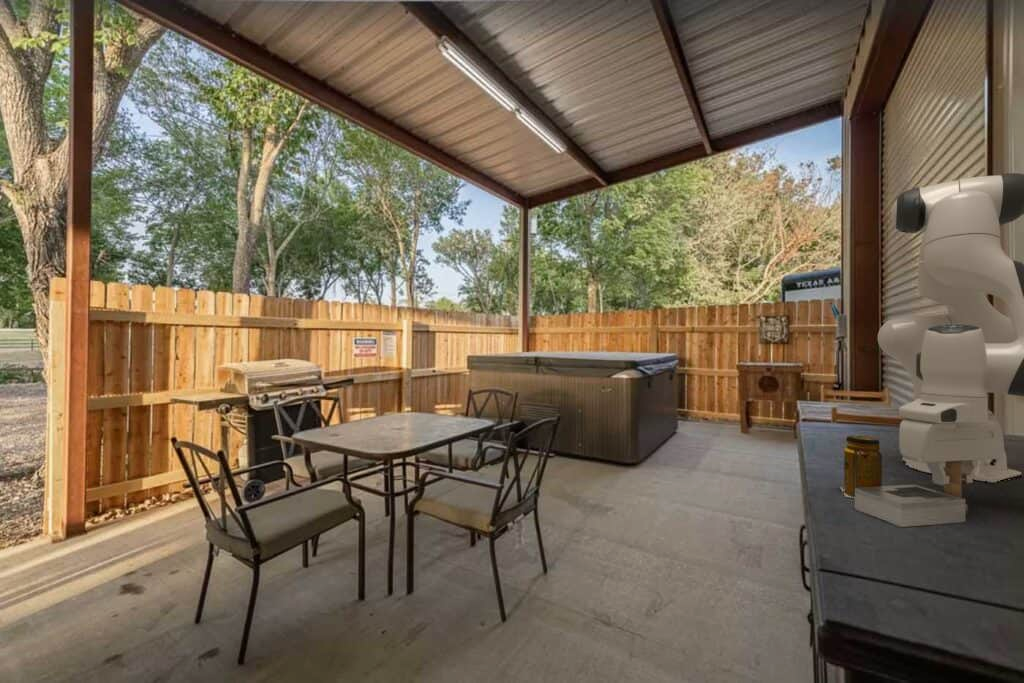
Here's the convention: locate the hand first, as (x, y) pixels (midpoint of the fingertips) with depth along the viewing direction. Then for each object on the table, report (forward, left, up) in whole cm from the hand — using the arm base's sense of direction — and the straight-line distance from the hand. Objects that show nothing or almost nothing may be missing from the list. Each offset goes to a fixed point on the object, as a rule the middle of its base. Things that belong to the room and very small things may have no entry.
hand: (952, 483), depth 80 cm
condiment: (+8, -9, -5) cm, 13 cm away
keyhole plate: (+11, +1, -5) cm, 12 cm away
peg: (0, 0, -5) cm, 5 cm away
